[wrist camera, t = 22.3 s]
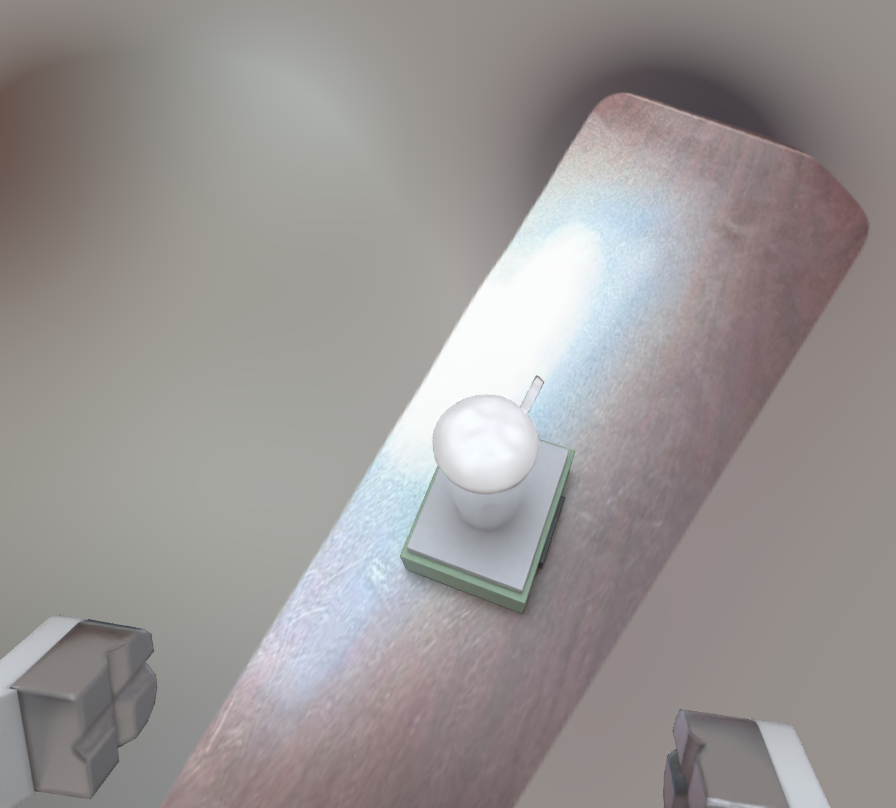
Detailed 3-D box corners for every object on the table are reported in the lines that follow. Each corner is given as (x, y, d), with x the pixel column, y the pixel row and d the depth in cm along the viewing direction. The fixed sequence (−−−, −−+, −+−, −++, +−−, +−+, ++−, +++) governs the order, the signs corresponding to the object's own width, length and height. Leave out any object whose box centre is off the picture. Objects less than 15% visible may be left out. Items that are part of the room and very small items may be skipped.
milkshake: (558, 496, 36) (580, 415, 27) (482, 561, 35) (479, 499, 26) (501, 438, 38) (504, 343, 29) (427, 498, 36) (406, 418, 28)
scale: (573, 471, 41) (581, 446, 37) (526, 615, 37) (530, 602, 34) (461, 434, 42) (458, 407, 39) (405, 569, 39) (397, 552, 35)
